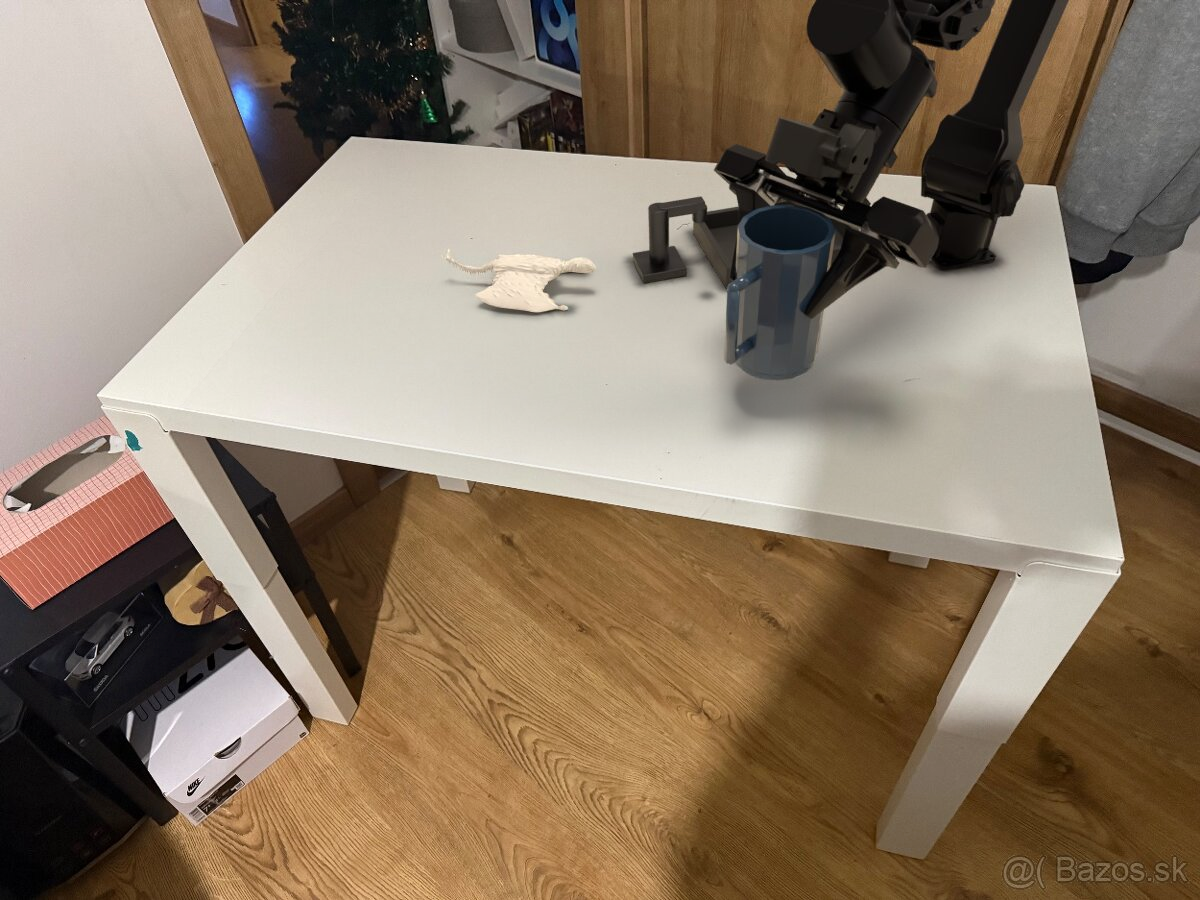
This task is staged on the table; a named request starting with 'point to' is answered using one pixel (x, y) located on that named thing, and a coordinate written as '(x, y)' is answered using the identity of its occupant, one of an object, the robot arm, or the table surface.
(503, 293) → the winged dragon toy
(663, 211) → the tap
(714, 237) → the tray
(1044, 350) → the table surface
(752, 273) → the mug
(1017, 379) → the table surface
